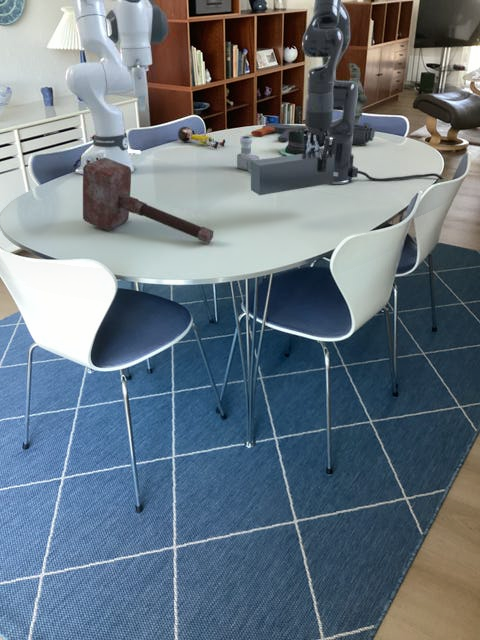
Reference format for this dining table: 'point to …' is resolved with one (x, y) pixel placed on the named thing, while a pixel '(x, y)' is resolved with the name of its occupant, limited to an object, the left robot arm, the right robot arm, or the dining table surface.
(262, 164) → the bar
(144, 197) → the dining table surface
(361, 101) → the statue
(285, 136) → the submachine gun
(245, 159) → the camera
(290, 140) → the green hat
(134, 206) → the sledgehammer
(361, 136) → the toy
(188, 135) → the figurine
